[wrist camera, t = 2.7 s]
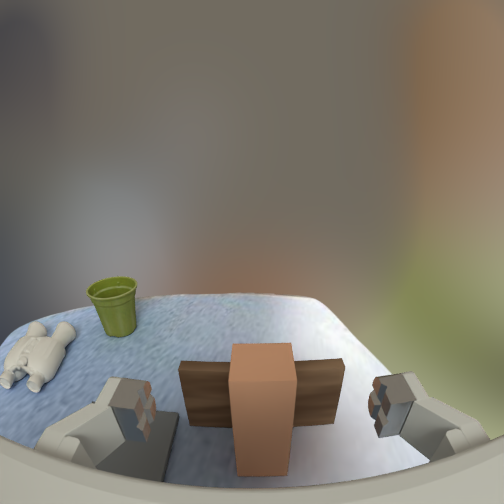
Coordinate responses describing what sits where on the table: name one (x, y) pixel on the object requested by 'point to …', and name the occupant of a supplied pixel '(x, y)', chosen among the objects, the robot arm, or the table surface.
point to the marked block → (262, 407)
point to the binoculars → (37, 355)
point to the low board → (218, 398)
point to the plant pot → (115, 304)
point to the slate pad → (145, 451)
